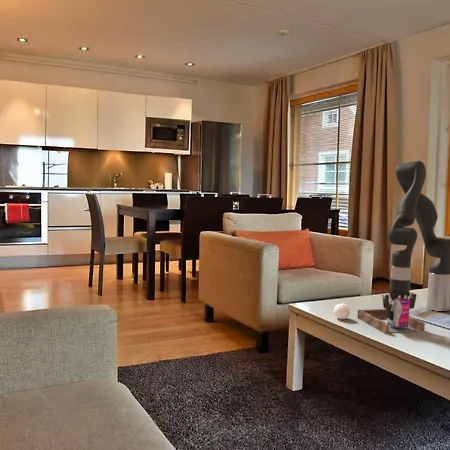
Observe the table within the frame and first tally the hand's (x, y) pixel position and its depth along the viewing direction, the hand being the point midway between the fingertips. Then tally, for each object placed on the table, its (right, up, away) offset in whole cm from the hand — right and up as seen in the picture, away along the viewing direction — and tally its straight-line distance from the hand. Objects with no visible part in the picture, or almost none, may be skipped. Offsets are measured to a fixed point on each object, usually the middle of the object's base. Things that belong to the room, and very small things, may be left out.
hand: (398, 319), depth 187 cm
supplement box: (0, -3, 0) cm, 3 cm away
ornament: (-19, -3, +13) cm, 23 cm away
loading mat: (0, -4, 0) cm, 4 cm away
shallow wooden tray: (-1, -3, +5) cm, 6 cm away
